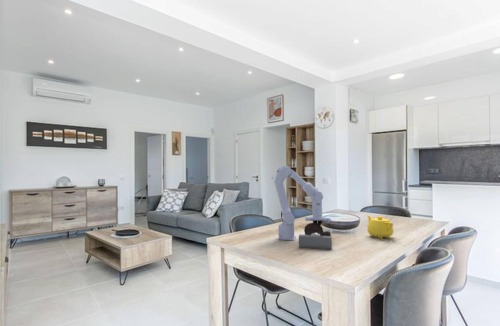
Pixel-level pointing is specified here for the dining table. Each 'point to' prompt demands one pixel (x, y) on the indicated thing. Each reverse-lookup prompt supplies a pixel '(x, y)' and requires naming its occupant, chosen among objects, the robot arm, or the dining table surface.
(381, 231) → the teapot
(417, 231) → the dining table surface
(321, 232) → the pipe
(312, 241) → the block
